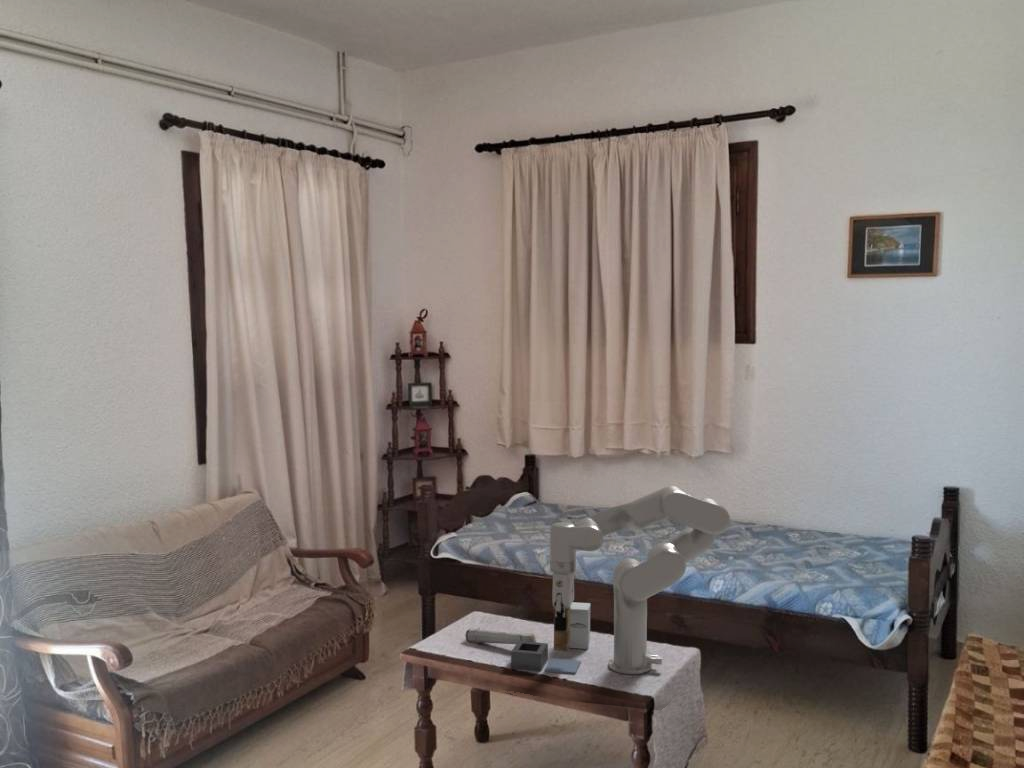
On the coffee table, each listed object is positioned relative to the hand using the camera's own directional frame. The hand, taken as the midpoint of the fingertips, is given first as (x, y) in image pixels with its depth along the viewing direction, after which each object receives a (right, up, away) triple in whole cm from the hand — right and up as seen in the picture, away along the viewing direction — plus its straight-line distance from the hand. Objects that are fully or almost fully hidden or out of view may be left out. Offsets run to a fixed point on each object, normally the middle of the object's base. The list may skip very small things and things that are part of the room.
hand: (562, 627), depth 255 cm
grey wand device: (-18, -11, +17) cm, 27 cm away
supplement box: (+6, -11, +19) cm, 23 cm away
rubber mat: (0, -12, +1) cm, 12 cm away
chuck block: (-9, -12, +3) cm, 15 cm away
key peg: (0, -6, 0) cm, 6 cm away
